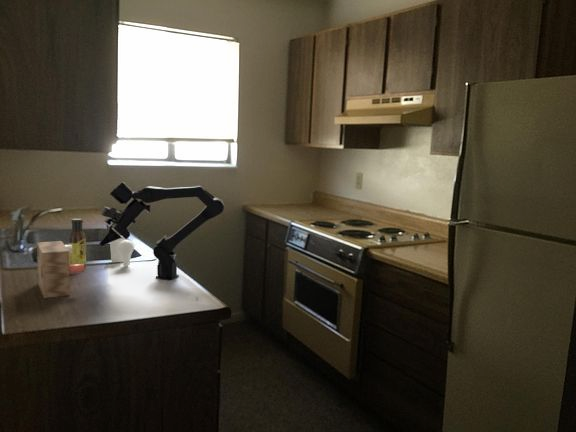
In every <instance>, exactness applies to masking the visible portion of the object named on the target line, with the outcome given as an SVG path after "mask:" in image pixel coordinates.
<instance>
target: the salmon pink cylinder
mask: <svg viewBox="0 0 576 432" xmlns="http://www.w3.org/2000/svg"><path fill="white" fill-rule="evenodd" d="M85 269H86V268H84V264H75V265H70V264H69V275H71V274H72V275H73V274H81V273H82V274H84V273H85Z"/></svg>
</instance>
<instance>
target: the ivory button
mask: <svg viewBox="0 0 576 432" xmlns="http://www.w3.org/2000/svg"><path fill="white" fill-rule="evenodd" d="M64 245H65V246H66V248H67V249H68V251H69V253H72V245H69V244H64Z"/></svg>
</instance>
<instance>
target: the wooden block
mask: <svg viewBox="0 0 576 432" xmlns="http://www.w3.org/2000/svg"><path fill="white" fill-rule="evenodd" d="M65 245H66V244H64V242H63V241H62V240H55V241H40V242H39V241H36V254H37V260H36V261H37V284H38V287H39V289H40V292H41V294H42V296H43V298H44V299H45V298H46V299H47V298H55V297H56V298H57V297H64V296H70V295H71V284H70V283H71V281H70V280H71V279H70V278H71V277H70V275H71V274H69V265H70V264H69V251H68V249H67V248H66V246H65Z"/></svg>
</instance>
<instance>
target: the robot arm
mask: <svg viewBox="0 0 576 432" xmlns="http://www.w3.org/2000/svg"><path fill="white" fill-rule="evenodd" d="M109 195H110V196H111V198H113V199H114V200H115V201H116V202H117V203H118V204H119V205H121V206H122V205H125V206H126V207H124V208H123V209H120V210H119V211H117V208H115V207H113V206H111V207H107V206H103V207H102V210H101V212H100V215H101V216H102V217H105V220H104V222H105V223H106V224H105V225H106V232H105V233H104V235H103V237H102V238H101V240H100V242H99V245H100V246H101V247H102V246H105V245H108V244H110V242H112V241H115V240H117V239H119V238H122V237H124V238H125V239H126V240H128V239H129V237H130V236H131V232H130V231H129V227H130V226H131V225H133V224H135V223H136V222H137V221H136V220H137V219H138V218H139V217H140V216H142V214H143V213H144V212H145V211H146V212H147V213H151V205H150V203H154V202H155V203H156V202H158V201H159V202H160V201H163V200H167V199H181V198H182V199H183V198H184V199H185V198H198V200H199V201H200V202H202V203H203V204H204V205H205V206H204V207H203V209H202V210H201V212H199V213H198V214H197V215H196V216H195V217H193V218H192V219H191V220H189V221H188V222H187V223H186V224H185V225H183V226H182V227H181V228H179V229H178V230H177V231H176V232H175V233H173V234H172V235H170V236H168V235H167V234H165V235H164V236H163V237H162V238H161V239H159V240H157V241H156V243H155V247H154V248H153V250H152V251H153V252H152V253H153V255H154V258H156V259H157V260H158V261H157V262H158V263H157V265H156V266H157V267H156V268H157V271H156V273H157V275H156V276H155V278H156V279H161V280H167V281H169V280H170V281H171V280H173V279H175V278H178V277H179V276H180V274H177V273H178V272H177V271H178V268H177V267H178V264H177V263H178V261H176V260H175V258H176V256H177V253H176V252H175V251H174V249H175V248H176V247H177V246H178V244H180V243H181V242H183V240H184V239H186V238H187V237H188V236H190V235H191V234H193V232H195V231H196V230H198V228H199V227H201V226H202V225H203V224H205V223H206V222H207V221H210V220H212V219H214V218H215V217H217V216H219V215H221V214H222V213H223V211H224V208H225V204H224V203H225V202H224V201H223V200H222V199H221V198H219V197H215V196H214V195H213V194H211V193H210V192H209V191H207V190H206V189H205V188H204V186H202V185H196V186H186V187H185V186H183V187H166V188H165V187H159V186H151V185H147V186H146V187H143V188H141V190H140V189H139V190H135V191H133V190H132V188H130V187H129V185H127V184H126V182H125V181H121V183H120V184H119V185H117V187H115V188H114V189H113V190H112V191H111V192H110V193H109ZM139 200H140V201H139ZM128 203H129V204H128ZM148 204H149V205H148ZM121 236H122V237H121Z"/></svg>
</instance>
